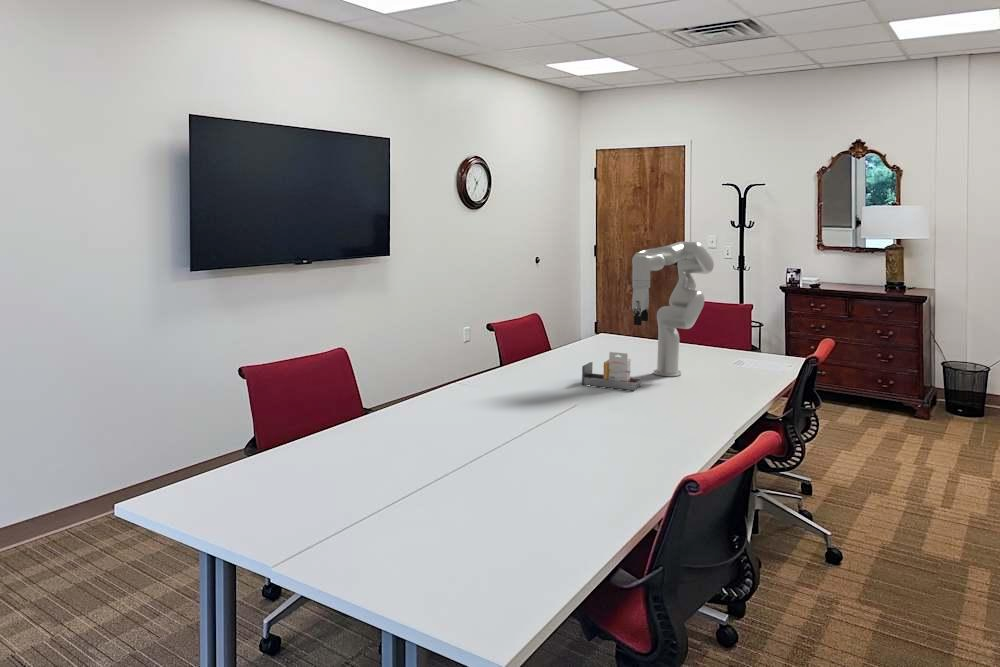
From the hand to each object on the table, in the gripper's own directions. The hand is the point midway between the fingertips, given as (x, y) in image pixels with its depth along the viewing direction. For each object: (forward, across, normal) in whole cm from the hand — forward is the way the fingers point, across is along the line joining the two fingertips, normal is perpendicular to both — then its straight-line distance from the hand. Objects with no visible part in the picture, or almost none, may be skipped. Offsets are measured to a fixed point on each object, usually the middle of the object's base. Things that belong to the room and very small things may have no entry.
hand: (641, 322), depth 324 cm
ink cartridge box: (+26, +13, -6) cm, 29 cm away
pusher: (+25, +13, -11) cm, 30 cm away
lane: (+26, +13, -9) cm, 30 cm away
